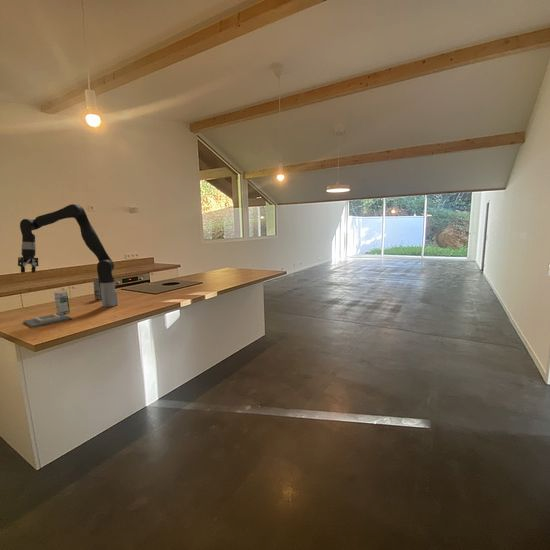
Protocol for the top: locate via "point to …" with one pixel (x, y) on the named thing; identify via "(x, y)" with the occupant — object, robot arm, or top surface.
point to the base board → (46, 319)
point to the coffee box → (97, 289)
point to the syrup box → (62, 302)
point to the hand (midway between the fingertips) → (28, 272)
